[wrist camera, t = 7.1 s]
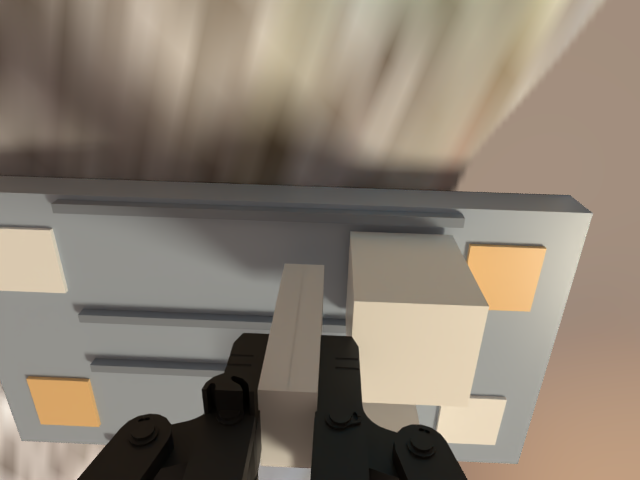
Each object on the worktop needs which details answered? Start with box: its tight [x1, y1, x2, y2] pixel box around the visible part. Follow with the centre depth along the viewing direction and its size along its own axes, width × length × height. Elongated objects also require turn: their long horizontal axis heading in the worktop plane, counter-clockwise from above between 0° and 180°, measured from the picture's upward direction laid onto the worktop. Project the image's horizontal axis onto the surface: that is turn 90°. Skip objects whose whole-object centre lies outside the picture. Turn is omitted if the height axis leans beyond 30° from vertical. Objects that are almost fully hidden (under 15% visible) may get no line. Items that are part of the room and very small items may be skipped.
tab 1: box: [346, 231, 489, 407], centre depth 17 cm, size 4×4×5 cm
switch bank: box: [0, 176, 593, 464], centre depth 22 cm, size 14×26×2 cm, turn 89°
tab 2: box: [362, 402, 419, 432], centre depth 21 cm, size 4×4×5 cm
